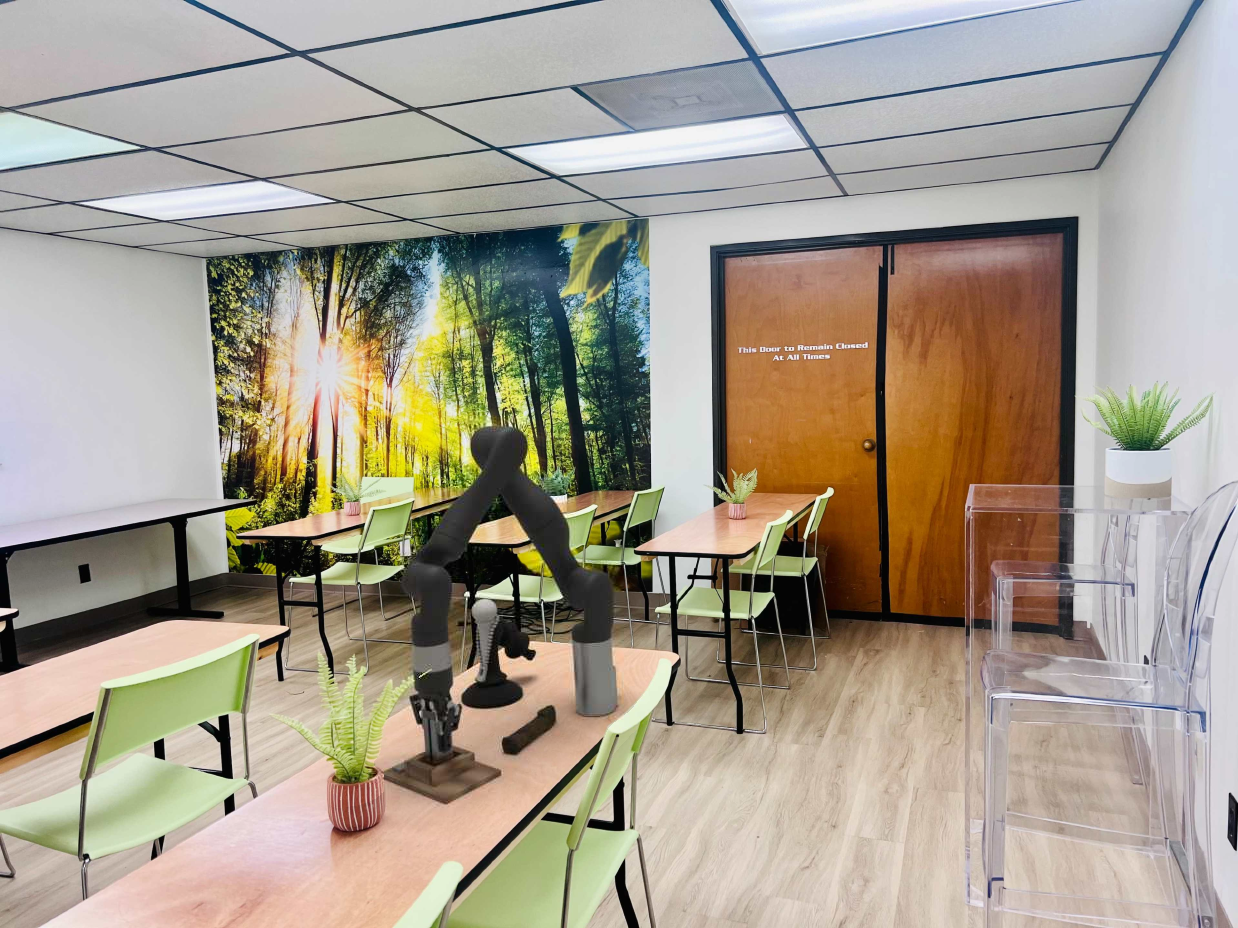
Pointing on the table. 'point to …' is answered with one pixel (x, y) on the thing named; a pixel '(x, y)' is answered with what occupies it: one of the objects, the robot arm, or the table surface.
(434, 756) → the grey square peg
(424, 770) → the stand
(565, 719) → the table surface
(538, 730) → the dark wooden branch
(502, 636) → the sculpture
